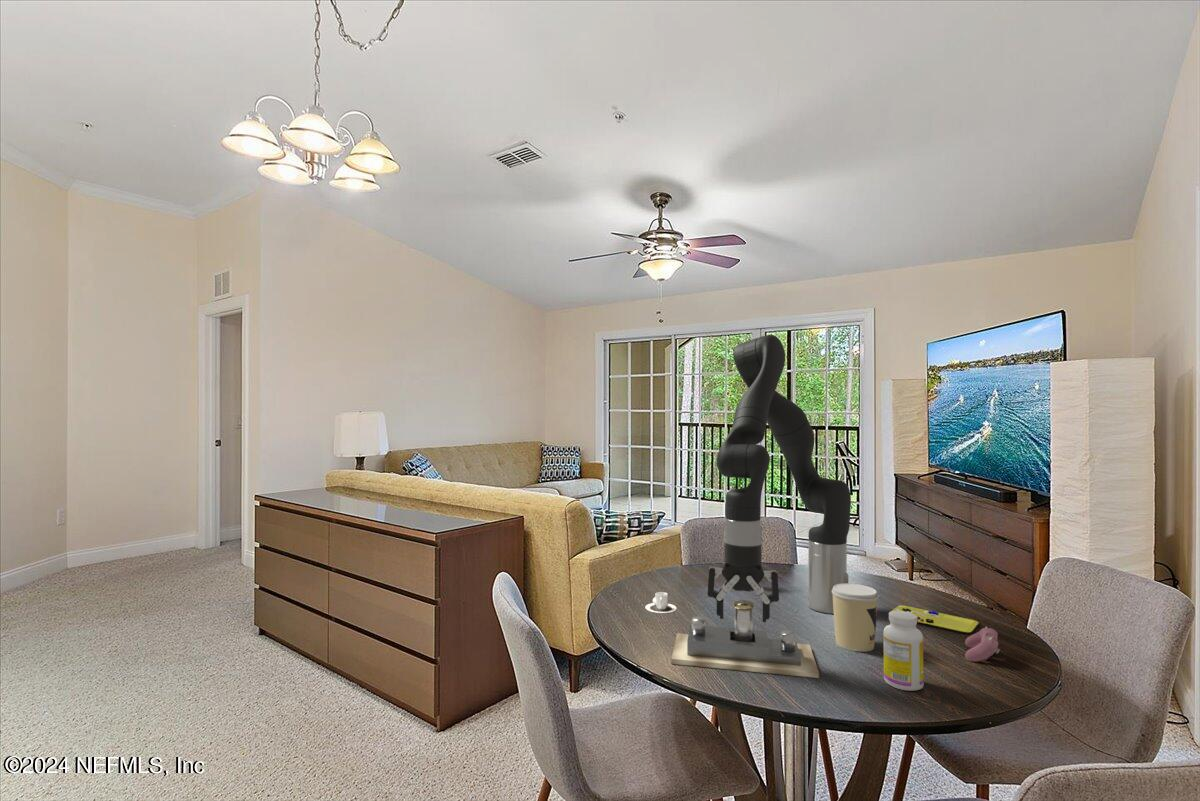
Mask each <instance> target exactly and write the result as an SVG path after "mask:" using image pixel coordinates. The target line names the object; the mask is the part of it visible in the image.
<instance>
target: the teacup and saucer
mask: <svg viewBox="0 0 1200 801" xmlns="http://www.w3.org/2000/svg"><path fill="white" fill-rule="evenodd" d="M653 606H656V608H657V610H660V611H656V610H653V609H651V607H653ZM667 607H670V608H671V609H670V610H668V611H661V610H667ZM645 609H646V611H648V612H652V613H654V614H656V613H657V614H671V613H673V612H675V611H677V606H676V605H674V604H671V603H668V593H667V592H664V591H658V592H655V594H654V597H653V599H652V603H648V604H646V605H645Z"/></svg>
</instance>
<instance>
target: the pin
mask: <svg viewBox="0 0 1200 801" xmlns="http://www.w3.org/2000/svg"><path fill="white" fill-rule="evenodd" d="M732 607H733V608H734V628H735V641H744V642H752V630H753V612H754V611H753V610H754V608H755V602H754V601H751V600H747V599H735V600H733V601H732Z"/></svg>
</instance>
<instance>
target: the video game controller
mask: <svg viewBox="0 0 1200 801" xmlns="http://www.w3.org/2000/svg"><path fill="white" fill-rule="evenodd" d="M998 635H999V633H998V632H997V631H996V630H995V629H993V628H991V627H989V628H988V626H985V627H983V628H981V629H979V631H977V632H976V633H972V634H970V635H969V636H968V637H967V638H966V639H965V642H964V644H965V646H966V647H968V648H969V649H968V650H967V651H966V652H965V654H964V656H965V659H966V660H967V661H969V662H974V663H975V662H982V661H983V660H985V661H986V660H988V659H989V658H990V657H991V656H992V657H993V655H994V654H998V653H999V652H1000V648H999V647H998V646H999V641H998Z"/></svg>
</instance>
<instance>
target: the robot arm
mask: <svg viewBox="0 0 1200 801" xmlns="http://www.w3.org/2000/svg"><path fill="white" fill-rule="evenodd" d="M732 357H733V361H734V365H735V367H736V369H737V371H738V374H739V376H740V377H741V379H742V380H743V382H744V383H745V385H746V387H747V389H746V391H745V392H744V394H743V395H742V396H741V398H740V399H739V401H738V403H737V405H736V408H735V412H734V416H733V422H732V426H731V429H730V430H729V433H728V434H727V436H726V438H725V439H724V440H723V443H722V444H721V446H720V447H719V450H718V453H717V455H716V466H717V467H716V468H717V469H718V471H719V473H720V474H721V475H722V476H723V477H726V478H733V479H734V478H736V479H750V481H749V484H748V485H747V486H746V487H742V488H733V489H730V490H729V491H727V492H726V494H725V524H724V531H723V532H724V533H723V534H724V535H723V541H724V542H723V544H724V545H723V546H724V548H723V549H724V553H723V554H724V555H723V556H724V557H723V559H724V561H723V567H717V566H716V567H715V566H714V565H710V566H709V567H708V569H709V570H708V580H707V582H708V583H707V596H708V597H709V598H713V599H715V600H716V615H717V616H718V617H719V619H722V620H724V597H725V596H727V594H729V592H730V591H731V590H732V589H733V590H734V591H735V592H736V591H738V592H739V591H744V592H751V591H754V592H755V593H756V594H757V596H759V598H760V599H761V600H762V601H761V605H762V606H761V620H762V622H763V623H767V620H769V619H770V618H771V616H770V614H771V612H770V610H771V608H770V605H771V603H774V602H775V603H776V602H778V601H780V594H779V579H778V578H779V577H778V572H777V570H776V569H774V568H772V569H771V570H764V569H763V567H762V566H763V565H762V560H763V558H762V554H763V552H762V551H763V550H762V547H763V546H762V544H763V543H762V541H763V537H762V535H763V534H762V532H763V531H762V523H761V501H762V493H763V492H762V491H763V488H764V483H765V479H766V478H767V474H768V470H769V466H770V463H771V461H770V454H769V452H768V449H767V448H766V447H764V445H761V444H760V443H762V442H763V440H764V438H765V435H766V429H767V425H768V427H769V429H770V431H771V434H772V436H773V438H774V440H775V442H776V444H777V446H778V447H779V449H780V450H781V453H782V454H783V457H784V459H785V462H786V464H787V466H788V468H789V470H790V472H791V474H792V477H793V480H794V483H795V486H796V489H797V491H798V494H799V497H800V499H801V501H802V503H803V506H805V508H806V509H808V510H809V511H810V512H812V513H816V514H821V515H823V521H822V523H821V524H820V525H817V526H813V527H811V528H809V530H808V579H807V581H808V591H807V592H808V597H807V600H808V607H809V608H810V609H812V610H814V611H816V612H819V613H824V614H833V615H834V610H833V594H832V589H833V587H834V586H835V585H837V584H850V583H849V582H850V581H849V574H848V571H847V567H848V564H847V557H848V556H847V554H848V553H847V552H848V550H847V549H848V548H847V546H848V544H847V543H848V540H847V539H848V535H849V531H850V525H851V523H850V522H851V509H852V508H851V507H852V504H851V503H852V500H851V499H852V496H851V490H850V488H849V486H848V484H847V483H846V482H845V481H842V480H839V479H833V478H826V477H821V476H820V474H819V473H818V471H817V469H816V467H815V465H814V463H813V454H814V448H815V433H814V430H813V428H812V425H811V423H810V421H809V419H808V417H807V415H806V413H805V412H804V410H803V409H802V408H801V407H800V406H799V405H797V404H796V403H795V402H793V401H791V400H790V399H789V398H787V397H785V396H784V395H783V394H781V393H780V392H778V391H777V390H776V389H777V387H778V384H779V382H780V379H781V377H782V374H783V371H784V368H785V362H786V352H785V349H784V346H783V343H782V341H781V340H780V339H779V337H778V336H776V335H774V334H766V335H762V336H759V337H755V338H753V339H749V340H746V341H744V342H741V343H738V344H736V345H735V346H734V348H733V351H732ZM720 575H722V576H723V578H724V579H725V581H724V583H723V584H722V586H721V587H720V589H718V590H715V579H718V578H719V576H720ZM764 577H766V579H767V581H768V582H769V583H770V584H771V594H768V593H767V592H766V590H765V589H764V587H763V586H762V585H761V583H760V582H761V581H762V580H763V579H764Z"/></svg>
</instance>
